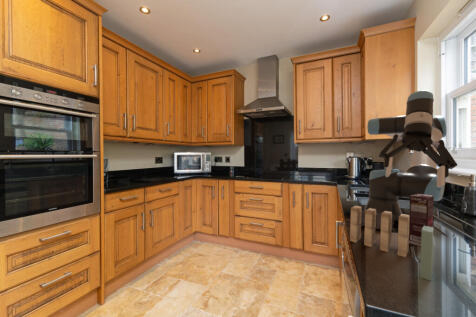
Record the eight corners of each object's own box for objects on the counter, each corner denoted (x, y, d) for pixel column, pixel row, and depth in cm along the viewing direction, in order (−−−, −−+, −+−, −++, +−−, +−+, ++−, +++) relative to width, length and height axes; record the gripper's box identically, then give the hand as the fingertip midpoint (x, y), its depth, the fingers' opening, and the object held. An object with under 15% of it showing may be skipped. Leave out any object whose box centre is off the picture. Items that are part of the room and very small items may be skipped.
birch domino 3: (383, 245, 64) (385, 210, 64) (390, 247, 62) (392, 212, 62) (380, 249, 60) (381, 213, 60) (387, 251, 59) (388, 214, 59)
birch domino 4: (400, 249, 61) (401, 213, 61) (408, 252, 59) (409, 215, 59) (397, 254, 57) (398, 216, 57) (405, 257, 56) (406, 218, 56)
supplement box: (414, 237, 71) (416, 193, 71) (433, 242, 67) (434, 195, 67) (407, 243, 66) (408, 195, 66) (427, 248, 62) (428, 197, 62)
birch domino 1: (354, 237, 70) (355, 205, 70) (360, 238, 69) (361, 206, 69) (349, 240, 67) (350, 207, 66) (355, 242, 65) (356, 209, 65)
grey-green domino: (422, 269, 50) (423, 225, 50) (432, 272, 48) (433, 227, 48) (420, 277, 46) (421, 230, 46) (430, 280, 45) (432, 232, 45)
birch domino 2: (368, 240, 67) (369, 208, 67) (375, 242, 66) (376, 209, 66) (364, 245, 63) (365, 210, 63) (370, 246, 62) (371, 211, 62)
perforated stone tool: (349, 226, 82) (350, 209, 82) (350, 222, 87) (350, 206, 87) (395, 234, 74) (396, 215, 74) (393, 230, 79) (394, 212, 79)
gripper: (379, 117, 75) (371, 167, 68) (472, 126, 64) (474, 186, 57) (374, 129, 81) (366, 175, 74) (458, 138, 70) (458, 194, 63)
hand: (413, 180), depth 65 cm, fingers open, 13 cm apart
